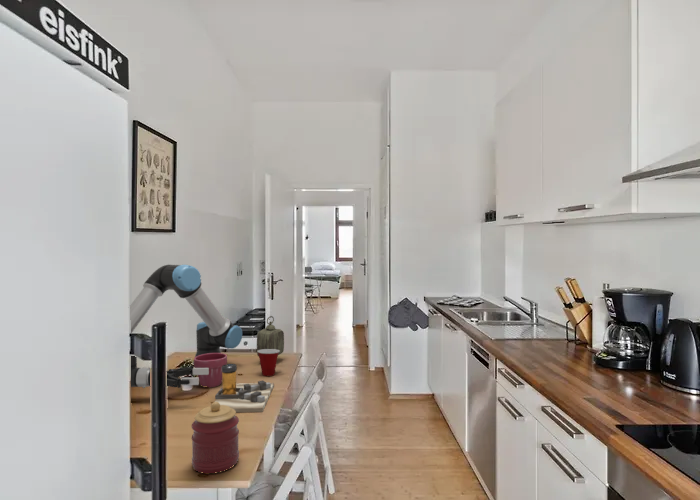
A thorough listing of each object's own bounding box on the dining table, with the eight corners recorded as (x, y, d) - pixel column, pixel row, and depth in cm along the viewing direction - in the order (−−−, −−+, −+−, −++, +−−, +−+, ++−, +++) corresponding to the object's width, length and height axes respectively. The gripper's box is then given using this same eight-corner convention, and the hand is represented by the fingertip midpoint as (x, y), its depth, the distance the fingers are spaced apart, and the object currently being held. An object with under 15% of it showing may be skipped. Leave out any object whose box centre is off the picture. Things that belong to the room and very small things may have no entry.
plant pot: (191, 390, 185) (191, 361, 185) (196, 381, 199) (196, 353, 199) (226, 388, 188) (225, 359, 188) (228, 378, 202) (228, 351, 202)
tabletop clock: (270, 358, 238) (270, 314, 238) (285, 359, 235) (284, 314, 235) (256, 365, 225) (256, 318, 225) (271, 366, 222) (271, 318, 222)
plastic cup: (284, 372, 211) (284, 348, 211) (271, 379, 201) (271, 353, 201) (266, 370, 215) (266, 346, 215) (252, 376, 206) (252, 351, 205)
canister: (213, 480, 113) (212, 414, 113) (181, 467, 120) (181, 405, 120) (248, 459, 124) (248, 399, 124) (218, 448, 131) (217, 391, 131)
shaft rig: (227, 387, 190) (227, 376, 190) (273, 386, 190) (273, 376, 190) (207, 413, 160) (207, 401, 160) (262, 411, 160) (262, 400, 160)
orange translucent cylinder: (224, 392, 177) (223, 364, 177) (238, 392, 178) (237, 363, 178) (220, 397, 172) (220, 368, 172) (234, 397, 172) (234, 367, 172)
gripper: (163, 376, 186) (212, 376, 187) (136, 396, 161) (193, 395, 162) (163, 359, 186) (212, 358, 187) (136, 377, 161) (193, 376, 162)
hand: (203, 376), depth 174 cm, fingers open, 13 cm apart
